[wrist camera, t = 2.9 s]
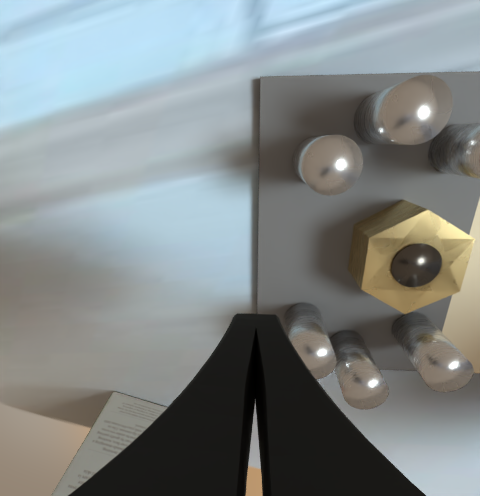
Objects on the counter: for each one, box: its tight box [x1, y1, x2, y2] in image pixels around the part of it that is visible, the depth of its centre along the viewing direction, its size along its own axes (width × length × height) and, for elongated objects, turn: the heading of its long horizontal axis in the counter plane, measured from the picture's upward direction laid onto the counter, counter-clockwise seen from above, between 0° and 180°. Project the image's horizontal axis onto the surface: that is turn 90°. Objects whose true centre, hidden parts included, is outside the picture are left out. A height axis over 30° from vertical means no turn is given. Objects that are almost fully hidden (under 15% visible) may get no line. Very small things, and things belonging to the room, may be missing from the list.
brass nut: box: [348, 200, 475, 314], centre depth 16 cm, size 5×6×3 cm
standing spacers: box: [284, 75, 480, 409], centre depth 15 cm, size 9×16×4 cm, turn 1°
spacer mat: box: [257, 71, 480, 373], centre depth 17 cm, size 19×18×1 cm
